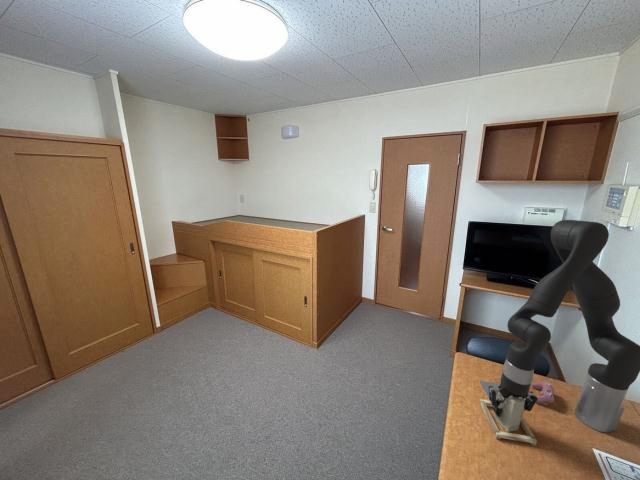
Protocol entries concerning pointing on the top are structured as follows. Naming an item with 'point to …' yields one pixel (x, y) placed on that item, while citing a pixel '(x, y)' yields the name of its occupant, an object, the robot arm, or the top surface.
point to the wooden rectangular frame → (499, 434)
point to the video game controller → (544, 392)
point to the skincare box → (511, 414)
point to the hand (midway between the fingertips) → (506, 415)
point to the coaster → (486, 386)
